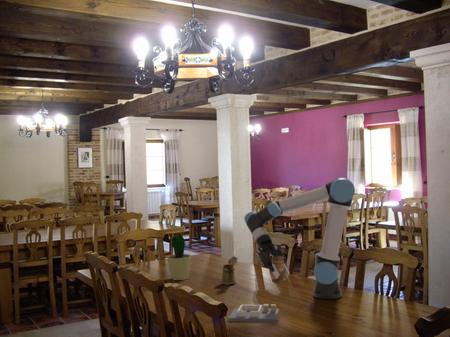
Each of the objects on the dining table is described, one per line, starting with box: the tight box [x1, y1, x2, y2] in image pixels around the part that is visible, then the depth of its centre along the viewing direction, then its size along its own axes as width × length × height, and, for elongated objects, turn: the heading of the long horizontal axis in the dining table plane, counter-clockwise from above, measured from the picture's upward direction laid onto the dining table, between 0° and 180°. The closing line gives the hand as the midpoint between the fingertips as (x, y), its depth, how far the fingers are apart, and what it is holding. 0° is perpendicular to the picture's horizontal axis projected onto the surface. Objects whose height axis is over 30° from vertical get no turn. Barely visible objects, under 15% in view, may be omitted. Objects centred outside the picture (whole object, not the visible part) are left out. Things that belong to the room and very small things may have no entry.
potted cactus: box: [166, 232, 192, 281], centre depth 315 cm, size 15×15×30 cm
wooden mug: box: [220, 256, 238, 286], centre depth 294 cm, size 9×14×18 cm, turn 26°
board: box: [227, 303, 280, 324], centre depth 231 cm, size 22×16×4 cm
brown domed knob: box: [271, 256, 286, 284], centre depth 239 cm, size 7×7×12 cm
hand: (283, 275), depth 236 cm, fingers closed on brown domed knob, 6 cm apart
